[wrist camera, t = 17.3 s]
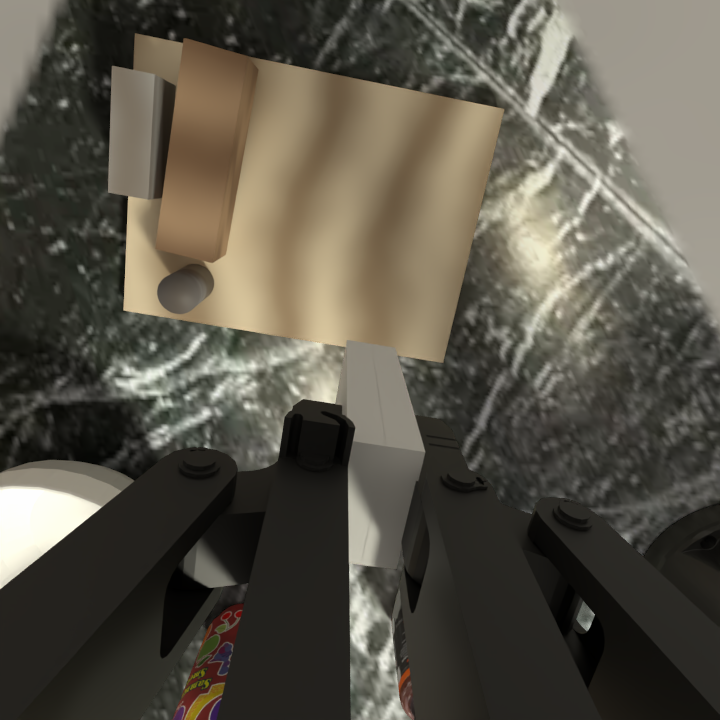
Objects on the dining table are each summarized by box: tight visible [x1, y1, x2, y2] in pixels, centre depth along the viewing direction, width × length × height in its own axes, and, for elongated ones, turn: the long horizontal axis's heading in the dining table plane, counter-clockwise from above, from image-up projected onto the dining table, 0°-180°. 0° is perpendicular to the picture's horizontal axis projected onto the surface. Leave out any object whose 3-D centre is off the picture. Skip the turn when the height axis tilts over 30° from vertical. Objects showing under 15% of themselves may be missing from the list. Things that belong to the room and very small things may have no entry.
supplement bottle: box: [391, 608, 416, 720], centre depth 45 cm, size 6×6×11 cm
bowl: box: [0, 460, 134, 589], centre depth 42 cm, size 19×19×9 cm
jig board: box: [108, 33, 504, 363], centre depth 36 cm, size 24×18×6 cm
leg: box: [155, 38, 259, 263], centre depth 34 cm, size 12×4×4 cm, turn 165°
